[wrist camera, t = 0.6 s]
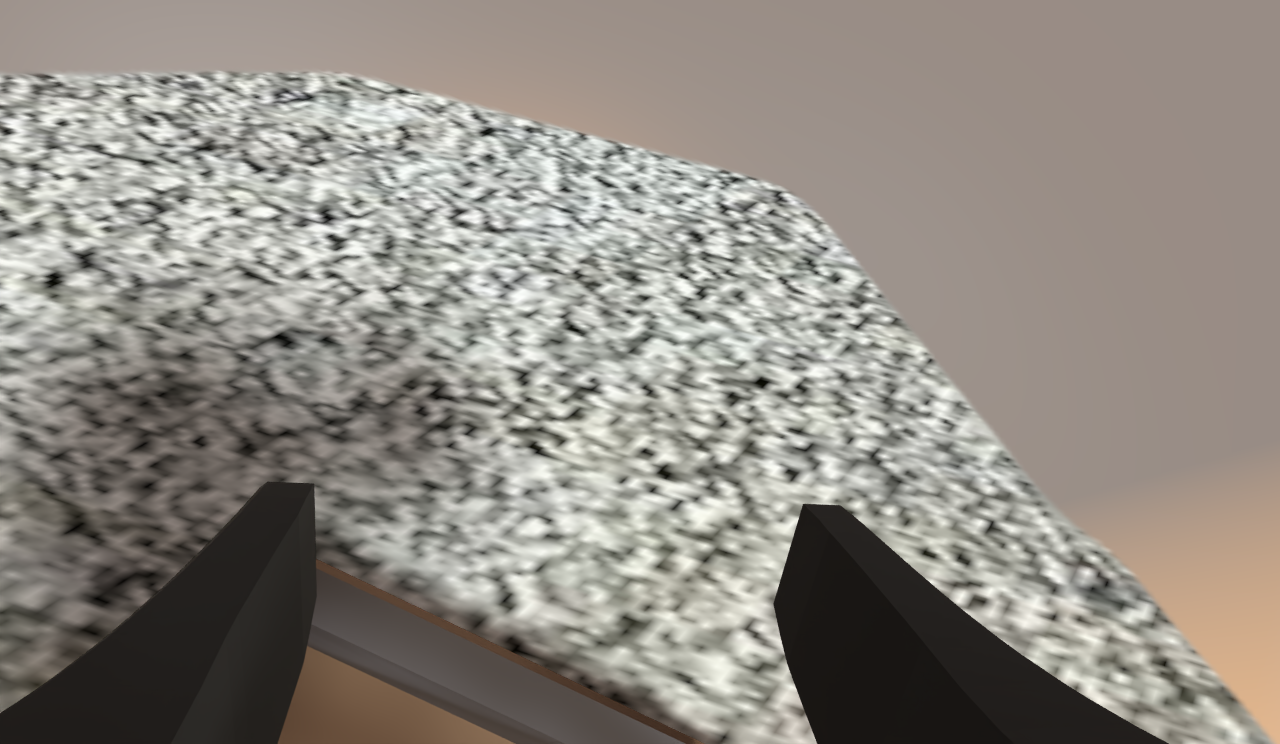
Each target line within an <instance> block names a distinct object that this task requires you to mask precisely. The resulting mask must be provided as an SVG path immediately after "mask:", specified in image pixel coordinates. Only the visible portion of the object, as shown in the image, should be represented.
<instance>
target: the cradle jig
mask: <svg viewBox="0 0 1280 744" xmlns="http://www.w3.org/2000/svg"><path fill="white" fill-rule="evenodd" d="M316 583H317V598H316V603H315V608H314V613H313V619H312V624H311V629H310V634H309V639H308V644H307V649H306V654H305V659H304V663H303V666H302V670H301V673H300V676H299V679H298V682H297V685H296V688H295V692H294V695H293V698H292V701H291V704H290V707H289V710H288V713H287V716H286V719H285V723H284V726H283V729H282V732H281V735H280V738H279V741H278V744H704V743H702V742H700V741H698V740H696V739H694V738H691V737H689V736H687V735H685V734H683V733H681V732H679V731H677V730H675V729H673V728H670V727H668V726H666V725H664V724H662V723H660V722H658V721H656V720H654V719H652V718H649V717H647V716H645V715H643V714H641V713H639V712H637V711H635V710H633V709H631V708H628V707H626V706H624V705H622V704H620V703H618V702H616V701H614V700H612V699H610V698H607V697H605V696H603V695H601V694H599V693H597V692H595V691H593V690H591V689H589V688H586V687H584V686H582V685H580V684H578V683H576V682H574V681H572V680H570V679H568V678H565V677H563V676H561V675H559V674H557V673H555V672H553V671H551V670H549V669H547V668H544V667H542V666H540V665H538V664H536V663H534V662H532V661H530V660H528V659H526V658H523V657H521V656H519V655H517V654H515V653H513V652H511V651H509V650H507V649H504V648H502V647H500V646H498V645H496V644H494V643H492V642H490V641H488V640H486V639H483V638H481V637H479V636H477V635H475V634H473V633H471V632H469V631H467V630H465V629H462V628H460V627H458V626H456V625H454V624H452V623H450V622H448V621H446V620H444V619H441V618H439V617H437V616H435V615H433V614H431V613H429V612H427V611H425V610H423V609H420V608H418V607H416V606H414V605H412V604H410V603H408V602H406V601H404V600H402V599H399V598H397V597H395V596H393V595H391V594H389V593H387V592H385V591H383V590H381V589H378V588H376V587H374V586H372V585H370V584H368V583H366V582H364V581H362V580H360V579H357V578H355V577H353V576H351V575H349V574H347V573H345V572H343V571H341V570H339V569H336V568H334V567H332V566H330V565H328V564H326V563H324V562H322V561H320V560H317V559H316Z"/></svg>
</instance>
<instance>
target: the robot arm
mask: <svg viewBox="0 0 1280 744" xmlns="http://www.w3.org/2000/svg"><path fill="white" fill-rule="evenodd" d="M316 598H317V583H316V541H315V499H314V484H309V483H285V482H267V483H266V484H264V485H263V486H262V487H260V488H259V489H258V490H257V491H256V493H255V494H254V495H253V496H252V497H251V498H250V499H249V500H248V501H247V503H246V504H245V505H244V506H243V507H242V508H241V509H240V510H239V511H238V512H237V514H236V515H235V516H234V517H233V518H232V519H231V520H230V521H229V522H228V523H227V524H226V525H225V526H224V527H223V529H222V530H221V531H220V532H219V533H218V534H217V535H216V536H215V537H214V538H213V539H212V540H211V541H210V542H209V543H208V544H207V545H206V546H205V547H204V548H203V549H202V550H201V551H200V552H199V553H198V554H197V555H196V556H195V557H194V558H193V559H192V560H191V561H190V562H189V563H188V564H187V565H186V566H185V567H184V568H183V569H182V570H181V571H180V572H179V573H178V574H177V575H176V576H175V577H173V578H172V579H171V580H170V581H169V582H168V583H167V584H166V585H165V586H164V587H163V588H162V589H161V590H159V591H158V592H157V593H156V594H155V595H154V596H153V597H151V598H150V599H149V600H148V601H147V602H146V603H145V604H144V605H142V606H141V607H140V608H139V609H138V610H137V611H136V612H134V613H133V614H132V615H131V616H130V617H129V618H128V619H127V620H125V621H124V622H123V623H122V624H121V625H120V626H118V627H117V628H116V629H115V630H114V631H112V632H111V633H110V634H109V635H108V636H106V637H105V638H104V639H103V640H101V641H100V642H99V643H98V644H96V645H95V646H94V647H93V648H91V649H90V650H89V651H88V652H86V653H85V654H84V655H82V656H81V657H80V658H78V659H77V660H76V661H74V662H73V663H72V664H70V665H69V666H68V667H66V668H65V669H64V670H62V671H61V672H60V673H58V674H57V675H56V676H54V677H53V678H52V679H50V680H49V681H48V682H46V683H45V684H43V685H42V686H40V687H39V688H38V689H36V690H35V691H33V692H32V693H30V694H29V695H27V696H26V697H24V698H23V699H21V700H20V701H18V702H17V703H15V704H14V705H12V706H11V707H9V708H8V709H6V710H4V711H3V712H1V713H0V744H278V741H279V738H280V735H281V732H282V729H283V726H284V723H285V719H286V716H287V713H288V710H289V707H290V704H291V701H292V698H293V695H294V692H295V688H296V685H297V682H298V679H299V676H300V673H301V670H302V666H303V663H304V659H305V654H306V649H307V644H308V639H309V634H310V629H311V624H312V619H313V613H314V608H315V603H316ZM774 608H775V613H776V618H777V622H778V627H779V632H780V636H781V640H782V644H783V648H784V652H785V656H786V660H787V664H788V667H789V670H790V673H791V675H792V678H793V681H794V684H795V686H796V689H797V692H798V694H799V697H800V700H801V702H802V705H803V708H804V710H805V713H806V715H807V718H808V721H809V723H810V726H811V728H812V731H813V734H814V736H815V739H816V741H817V744H1168V743H1167V742H1165V741H1163V740H1161V739H1159V738H1157V737H1155V736H1153V735H1152V734H1150V733H1148V732H1146V731H1144V730H1142V729H1140V728H1138V727H1137V726H1135V725H1133V724H1131V723H1130V722H1128V721H1126V720H1124V719H1123V718H1121V717H1119V716H1118V715H1116V714H1114V713H1112V712H1111V711H1109V710H1107V709H1106V708H1104V707H1102V706H1100V705H1099V704H1097V703H1095V702H1094V701H1092V700H1090V699H1088V698H1087V697H1085V696H1084V695H1082V694H1080V693H1079V692H1077V691H1076V690H1074V689H1072V688H1071V687H1069V686H1068V685H1066V684H1064V683H1063V682H1061V681H1060V680H1058V679H1057V678H1055V677H1054V676H1052V675H1051V674H1049V673H1048V672H1046V671H1045V670H1044V669H1042V668H1041V667H1039V666H1038V665H1036V664H1035V663H1033V662H1032V661H1030V660H1029V659H1027V658H1026V657H1024V656H1023V655H1021V654H1020V653H1019V652H1017V651H1016V650H1014V649H1013V648H1012V647H1010V646H1009V645H1007V644H1006V643H1005V642H1003V641H1002V640H1001V639H999V638H998V637H997V636H995V635H994V634H993V633H992V632H990V631H989V630H988V629H986V628H985V627H984V626H983V625H981V624H980V623H979V622H977V621H976V620H975V619H973V618H972V617H971V616H970V615H968V614H967V613H966V612H965V611H963V610H962V609H961V608H960V607H958V606H957V605H956V604H955V603H954V602H952V601H951V600H950V599H949V598H947V597H946V596H945V595H944V594H943V593H941V592H940V591H939V590H938V589H937V588H936V587H934V586H933V585H932V584H931V583H930V582H929V581H927V580H926V579H925V578H924V577H923V576H922V575H920V574H919V573H918V572H917V571H916V570H915V569H913V568H912V567H911V566H910V565H909V564H908V563H907V562H905V561H904V560H903V559H902V558H901V557H900V556H899V555H898V554H896V553H895V552H894V551H893V550H892V549H891V548H890V547H889V546H887V545H886V544H885V543H884V542H883V541H882V540H881V539H880V538H878V537H877V536H876V535H875V534H874V533H873V532H872V531H870V530H869V529H868V528H867V527H866V526H865V525H864V524H862V523H861V522H860V521H859V520H858V519H856V518H855V517H854V516H853V515H852V514H850V513H849V512H848V511H847V510H845V509H844V508H843V507H842V506H840V505H817V504H803V506H802V510H801V513H800V516H799V520H798V523H797V526H796V530H795V533H794V537H793V540H792V543H791V547H790V550H789V553H788V557H787V560H786V564H785V567H784V570H783V574H782V577H781V580H780V584H779V587H778V591H777V594H776V597H775V601H774Z"/></svg>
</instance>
